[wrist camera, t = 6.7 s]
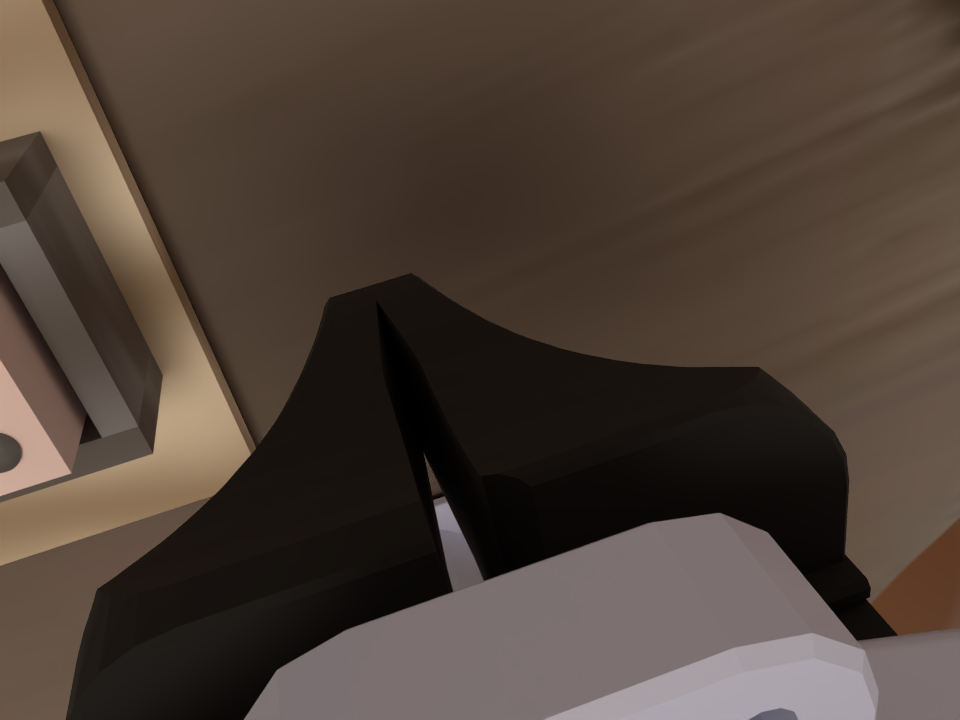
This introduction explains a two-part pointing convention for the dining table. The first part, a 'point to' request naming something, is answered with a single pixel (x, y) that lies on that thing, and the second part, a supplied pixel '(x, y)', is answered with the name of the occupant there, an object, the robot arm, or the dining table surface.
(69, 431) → the tile three
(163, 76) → the dining table surface
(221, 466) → the console
